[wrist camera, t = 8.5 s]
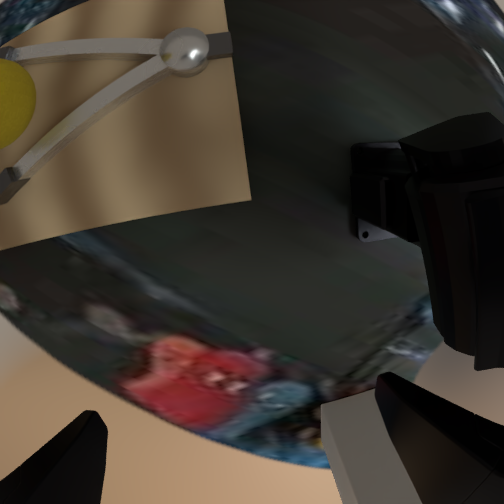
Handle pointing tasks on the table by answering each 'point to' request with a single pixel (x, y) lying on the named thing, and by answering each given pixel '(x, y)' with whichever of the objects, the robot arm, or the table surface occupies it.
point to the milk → (363, 453)
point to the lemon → (15, 101)
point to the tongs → (115, 94)
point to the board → (127, 128)
